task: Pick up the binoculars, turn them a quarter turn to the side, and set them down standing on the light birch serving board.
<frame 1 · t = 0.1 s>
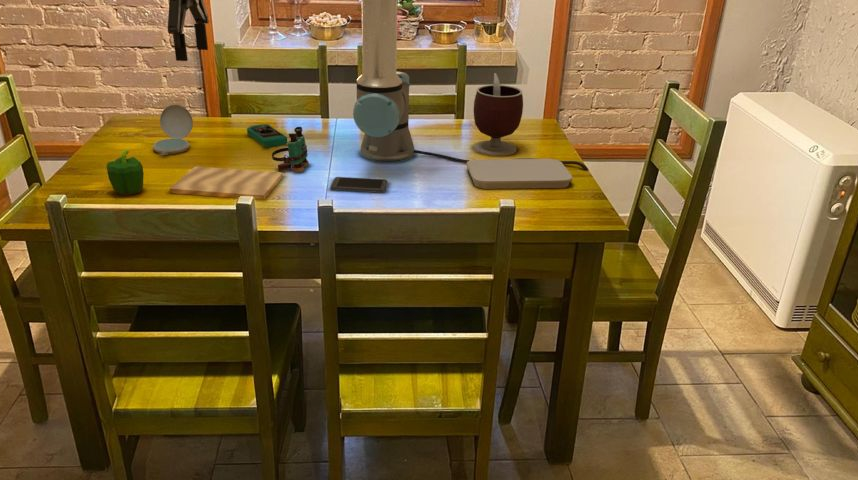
hand: (192, 55, 190), 28 cm above the table, tool pointing down, fingers open, 13 cm apart
mate gourd: (494, 148, 216), on the table
grey compact mirror: (172, 149, 210), on the table
serving board: (228, 184, 187), on the table
binoculars: (290, 168, 198), on the table
bell pepper: (129, 192, 182), on the table
digital multimeter: (267, 140, 218), on the table
tablet: (517, 178, 195), on the table
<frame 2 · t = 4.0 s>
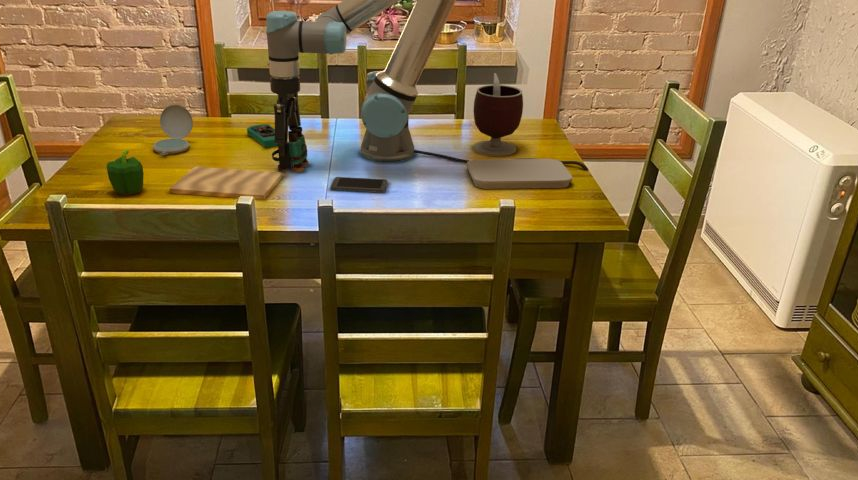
hand: (289, 160, 197), 2 cm above the table, tool pointing down, fingers closed on binoculars, 9 cm apart
binoculars: (290, 168, 198), on the table, touching gripper
everything else where it was.
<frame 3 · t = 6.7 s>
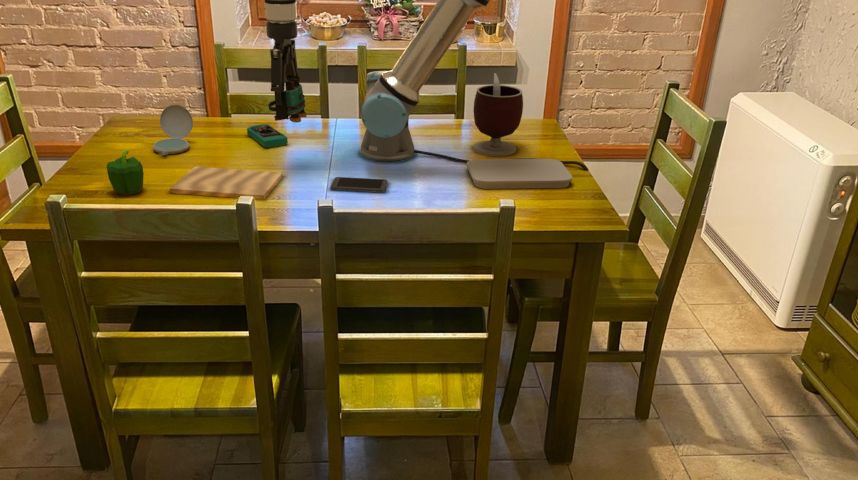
hand: (287, 111, 191), 15 cm above the table, tool pointing down, fingers closed on binoculars, 9 cm apart
binoculars: (287, 119, 192), point 13 cm above the table, touching gripper
everything else where it was.
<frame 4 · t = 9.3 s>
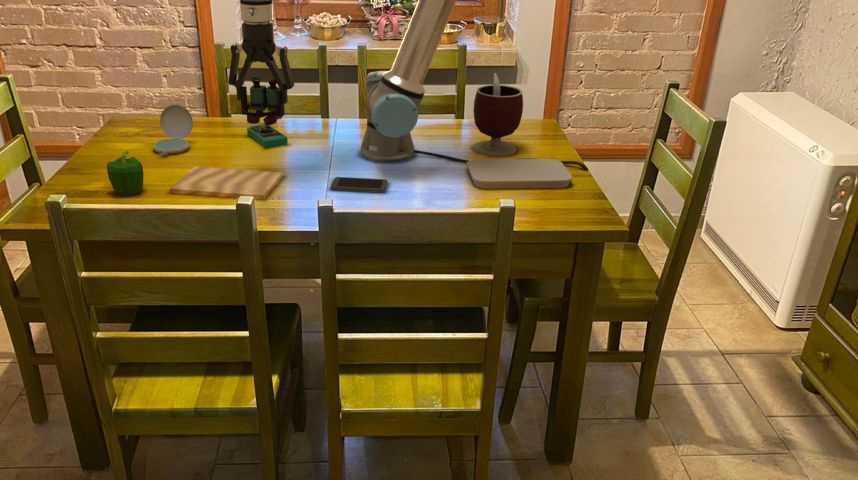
hand: (263, 114, 187), 16 cm above the table, tool pointing down, fingers closed on binoculars, 9 cm apart
binoculars: (264, 122, 188), point 14 cm above the table, touching gripper
everything else where it was.
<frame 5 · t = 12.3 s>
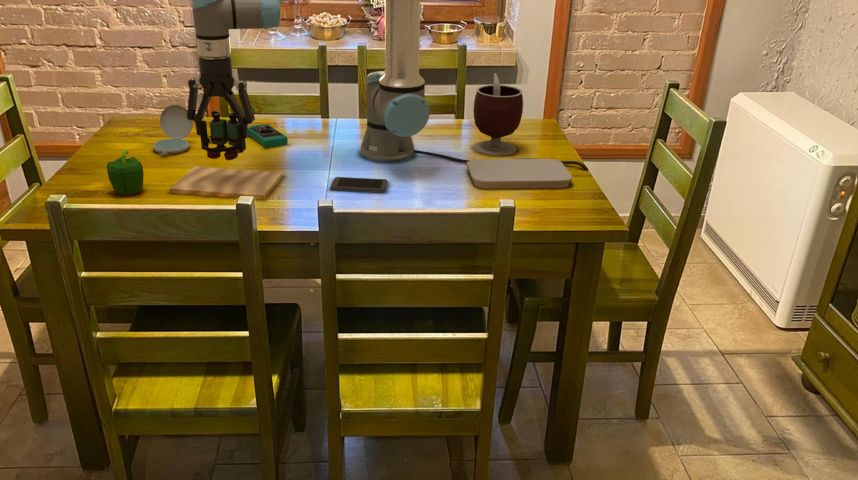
hand: (224, 149, 182), 9 cm above the table, tool pointing down, fingers closed on binoculars, 9 cm apart
binoculars: (225, 157, 183), point 7 cm above the table, touching gripper
everything else where it was.
when the fingers open (3 cm above the table, at t = 14.6 s): binoculars stays where it is, resting on serving board.
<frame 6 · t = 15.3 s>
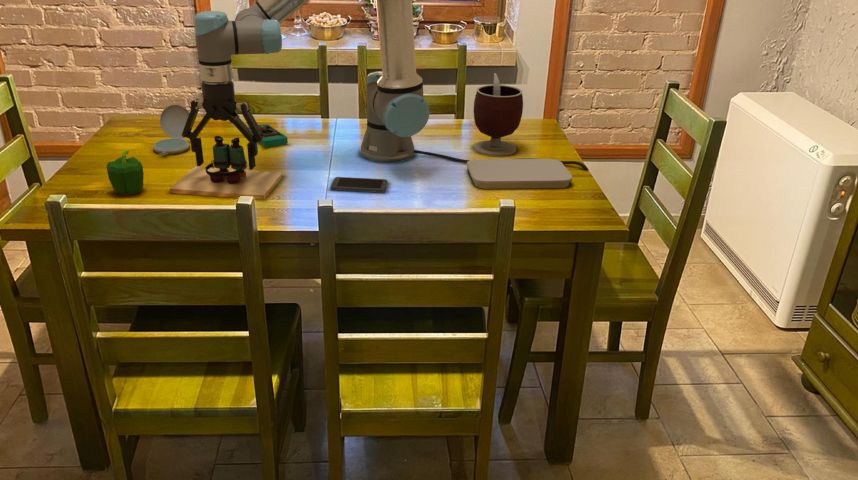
hand: (226, 166, 184), 5 cm above the table, tool pointing down, fingers open, 13 cm apart
binoculars: (228, 180, 186), point 1 cm above the table, touching serving board
everything else where it was.
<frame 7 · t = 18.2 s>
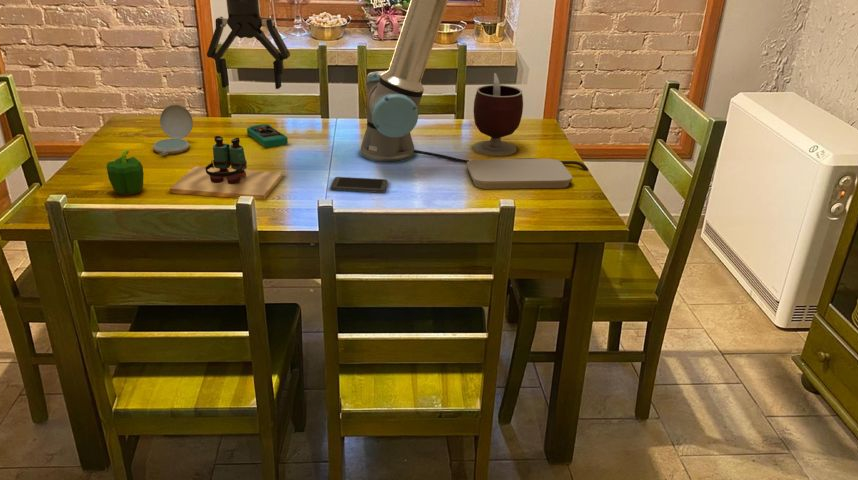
hand: (251, 87, 183), 23 cm above the table, tool pointing down, fingers open, 13 cm apart
nothing on the table moved.
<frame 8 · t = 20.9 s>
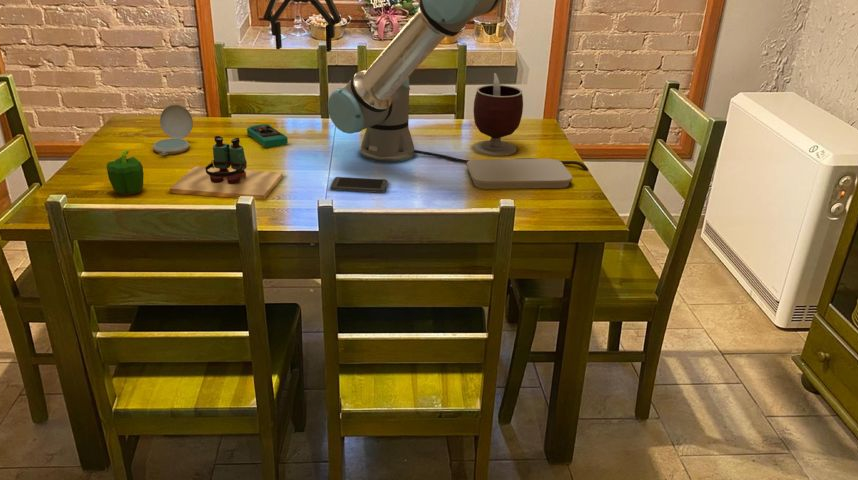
hand: (303, 49, 195), 29 cm above the table, tool pointing down, fingers open, 13 cm apart
nothing on the table moved.
at the end: binoculars inside the target area on the serving board (0.1 cm from its centre), point 1.0 cm above the serving board's base; binoculars moved 19.2 cm from its start; the gripper is holding nothing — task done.
